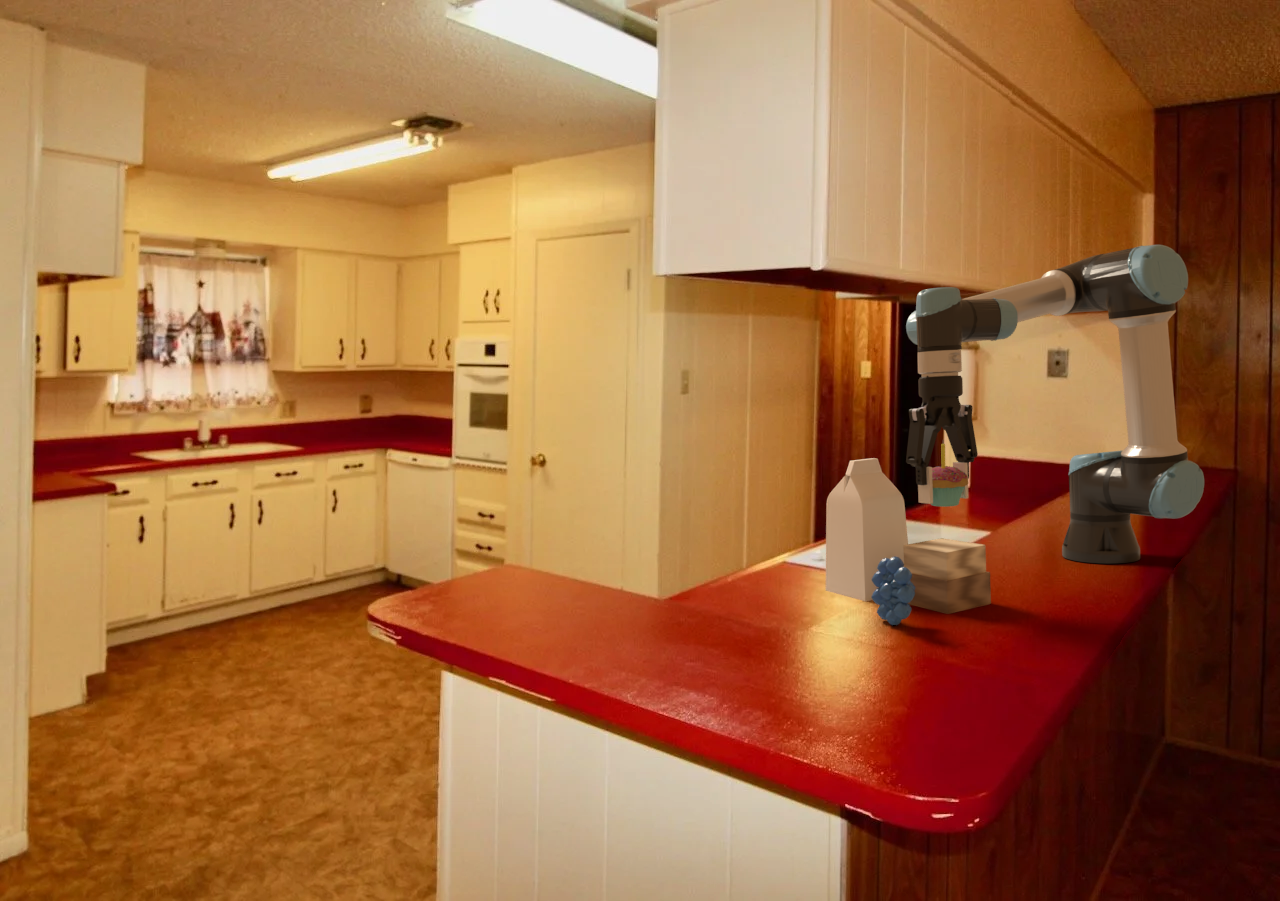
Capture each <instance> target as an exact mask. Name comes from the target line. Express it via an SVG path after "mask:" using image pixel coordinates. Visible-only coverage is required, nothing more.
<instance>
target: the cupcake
mask: <svg viewBox="0 0 1280 901" xmlns="http://www.w3.org/2000/svg"><path fill="white" fill-rule="evenodd" d="M940 446H941V448H940V449H941V450H940V451H941V452H940V453H941V455H940V456H941V459H940V460H941V466H939V465H938V466H935V467H932V482H933V504H930V505H931V506H933V507H946V508H947V507H957V506H958V505H959V504H960V501H961V498H960V497H961V494H962V491H963V489H964V487H965V486H966V485H968V486H969V479H967V478H968V477H967V475H966V474H965V473H964V472H963V471H961V470H959V469H958V468H956V467H953V466H950V465H949V466H948V465H946V444H945V440H944V439H942V443H941V445H940Z"/></svg>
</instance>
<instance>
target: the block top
mask: <svg viewBox="0 0 1280 901" xmlns="http://www.w3.org/2000/svg"><path fill="white" fill-rule="evenodd" d="M903 546H904V567H906V568H908V569H909V570H910V572H911V573H912V574H917V575H922V576H926V577H931V578H936V579H941V580H946V581H948V580H953V579H958V578H962V577H967V576H971V575H976V574H981V573H985V572H987V555H986V554H987V553H986V549H987V547H986V544H982V543H976V542H970V541H962V540H956V539H949V538H945V537H944V538H942V537H941V538H936V539H931V540H924V541H919V542H914V543H908V544H907V545H903Z"/></svg>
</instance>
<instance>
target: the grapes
mask: <svg viewBox="0 0 1280 901" xmlns="http://www.w3.org/2000/svg"><path fill="white" fill-rule="evenodd" d="M877 569H878V570H879V571H877V572H876V573H875V574H874V575H873V577H872V582H873V583H874V585H875V586H876V587H879V588H877V589H876V590H875V591H874V592H873V594H872V597H871V598H872V599H873V600H872V601H873V602H874V603H875V604H876V605H878V608H877V610H876V614H877V615H878V616H879V618H880V619H882V620H884V621H887V622H888V624H889V625H890V626H893V625H896V626H898V625H900V624H901V622H902V620H906V619H907V618H908V617H909V616H910V614H911V612H912V607H911V605H910V604H908V603H909V602H910V601H911V600H912V599H913V598H914V596H915V586H914V584H913V583H912V582H911V581H910V580H911V578H912V573H911V572H910V570H909V569H908V568H906V567H904V563H903V561H902V560H901V559H900V558H899V557H896V556H895V557H892V558H891V559H889V558H884V559H882V560H881V561H880V563H879V564H878V567H877Z"/></svg>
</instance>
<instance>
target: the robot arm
mask: <svg viewBox="0 0 1280 901" xmlns="http://www.w3.org/2000/svg"><path fill="white" fill-rule="evenodd" d="M1188 285H1189V274H1188V270H1187V266H1186V264H1185V262H1184V260H1183V258H1182V257H1181V255H1180V254H1179V253H1177V252H1176V251H1175V250H1174V249H1173V248H1171V247H1169V246H1167V245H1163V244H1151V245H1140V246H1136V247H1131V248H1127V249H1122V250H1117V251H1111V252H1107V253H1100V254H1096V255H1092V256H1089V257H1086V258H1083V259H1080V260H1078V261H1075V262H1073V263H1069V264H1068V265H1065V266H1062V267H1059V268H1055V269H1052V270H1049V271H1047V272H1045V273H1043V275H1042V276H1041V277H1040V278H1037V279H1033V280H1030V281H1026V282H1021V283H1017V284H1015V285H1011V286H1007V287H1003V288H999V289H995V290H992V291H988V292H984V293H981V294H976V295H972V296H969V297H965V298H962V296H961V292H960V291H961V290H960V289H959V288H958V287H953V286H952V287H951V286H945V287H943V286H942V287H933V288H927V289H922V290H921V291H919V292H918V293H917V296H916V300H915V301H916V304H915V305H916V306H915V310H914V311H913V312H911V314H910V315H909V316H908V318H907V320H906V325H905V329H906V334H907V337H908V340H910V341H911V342H912V343H913V344H914V345H917V374H919V375H921V377H919V379H918V380H917V381H918V396H919V398H922V403H921V406H920V407H918V408H910V409H908V416H909V429H908V439H907V448H906V456H905V457H906V458H905V459H906V460H905V463H906V464H908V465H910V466H911V467H915V483H916V485H917V492H918V503H921V504H926V505H927V504H929V505H931V504H933V482H932V468H933V467H932V466H929V464H930V460H931V457H932V453H933V449H934V447H935V443H936V439H937V436H938V433H939V432H940V431H941V430H942V429H943V430H944V431H945V433H946V436H947V439H948V440H949V444H950V446H951V450H952V452H953V455H954V458H955V460H956V461H953V462H952V467H956V468H958V469H959V470H961V471H963V472H964V473H965V474H966V475H967V477H968V478H967V479H968V480H969V479H970V463H973V462H975V458H977V457H978V447H977V443H976V442H977V440H976V436H975V430H974V423H973V418H972V417H973V405H972V404H961V402H960V399H959V397H960V396H962V395H963V393H964V392H963V387H964V385H963V384H964V383H963V377H962V376H961V375H959V373H961V372H962V371H963V368H962V363H963V362H962V344H963V343H969V342H971V343H972V342H981V341H991V342H994V341H998V340H1005V339H1008V338H1009V337H1011V336H1012V335H1013V334H1014V332H1015V330H1016V329H1017V327H1018V323H1021V322H1024V321H1028V320H1031V319H1036V318H1040V317H1043V316H1045V315H1046V316H1047V315H1052V316H1055V317H1058V316H1059V317H1060V316H1063V315H1069V314H1075V313H1076V314H1077V313H1085V312H1087V313H1089V312H1105V311H1106V312H1107V314H1108V316H1107V317H1108V321H1109V322H1110V323H1112V324H1113V325H1115V326H1116V327H1117V329H1118V341H1119V352H1120V362H1121V373H1122V375H1121V376H1122V384H1123V395H1124V396H1123V397H1124V398H1123V399H1124V406H1125V408H1124V409H1125V410H1124V411H1125V419H1126V420H1125V421H1126V431H1127V441H1128V442H1127V444H1128V445H1127V446H1126V447H1125V448H1124V449H1123V450H1114V451H1104V452H1095V453H1094V452H1093V453H1084V454H1076V455H1073V456H1072V457H1071V459H1070V461H1069V469H1068V487H1069V488H1068V490H1069V493H1068V494H1069V514H1070V516H1069V517H1070V518H1069V519H1070V520H1069V525H1068V528H1067V531H1066V532H1065V533H1066V534H1065V536H1064V540H1063V543H1062V548H1061V555H1062V557H1063V558H1064V559H1067V560H1069V561H1070V560H1071V561H1075V562H1080V563H1091V564H1108V565H1109V564H1110V565H1111V564H1125V563H1134V562H1138V561H1139V560H1140V559H1141V547H1140V545H1139V543H1138V540H1137V537H1136V533H1135V531H1134V528H1133V527H1132V522H1131V514H1132V515H1139V516H1146V517H1154V518H1155V519H1181V518H1183V517H1185V516H1187V515H1189V514H1190V513H1192V512H1193V511H1194V509H1195V508H1196V507H1197V505H1198V504H1199V502H1200V501H1201V498H1202V497H1203V493H1204V488H1205V476H1204V472H1203V470H1202V469H1201V468H1200V466H1199V465H1198V464H1197V463H1195V462H1194V461H1192V460H1189V454H1188V448H1187V447H1185V445H1183V444H1182V443H1180V442H1179V441H1178V432H1177V418H1176V417H1177V416H1176V409H1175V408H1176V407H1175V396H1174V383H1173V371H1172V360H1171V358H1172V357H1171V347H1170V336H1169V335H1170V334H1169V321H1170V319H1171V317H1173V316H1174V314H1175V313H1176V312H1177V308H1176V303H1178V301H1180V300H1181V299H1182V298H1183V297H1184V295H1185V294H1186V291H1185V290H1187V289H1188V287H1189V286H1188ZM960 499H969V484H968V485H966V486H965V487H964V489H963V491H962V494H961V497H960Z"/></svg>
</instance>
